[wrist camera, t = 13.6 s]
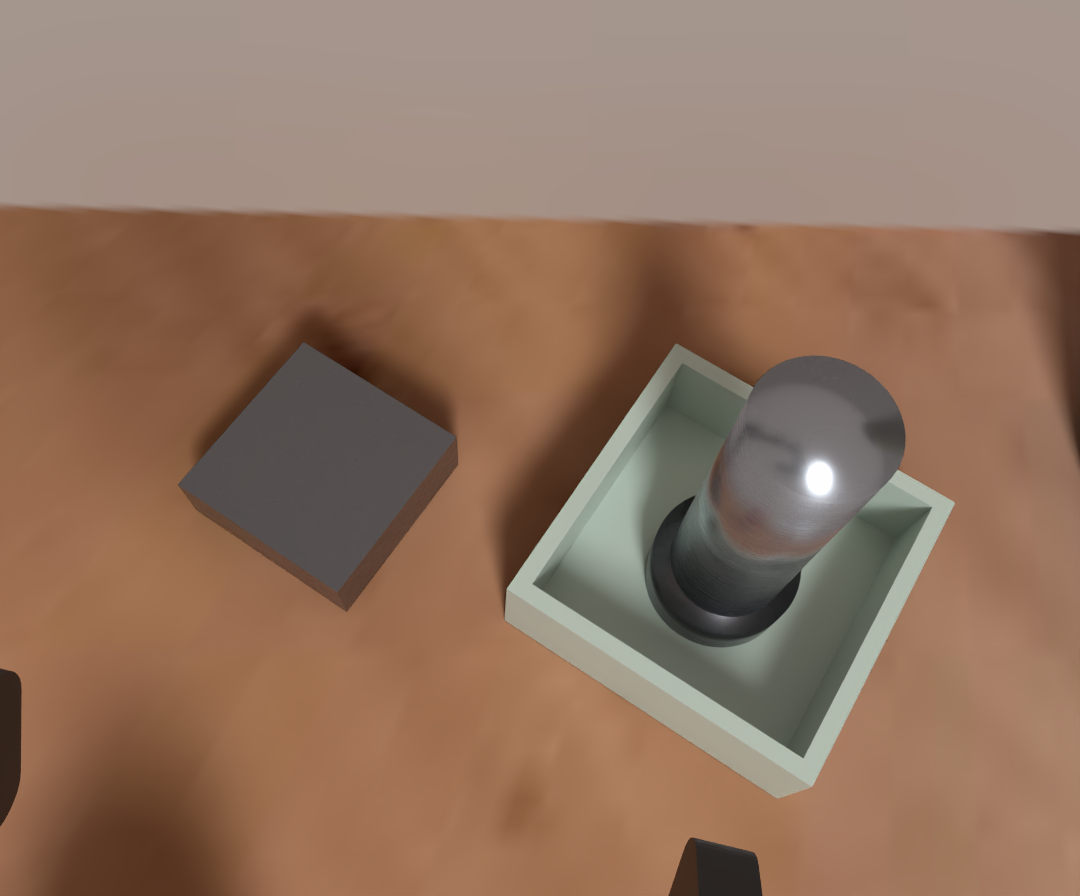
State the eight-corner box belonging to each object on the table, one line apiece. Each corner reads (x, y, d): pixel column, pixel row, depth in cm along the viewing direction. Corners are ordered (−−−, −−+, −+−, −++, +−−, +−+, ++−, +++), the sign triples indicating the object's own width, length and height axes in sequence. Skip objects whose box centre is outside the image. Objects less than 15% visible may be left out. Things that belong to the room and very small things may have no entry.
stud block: (196, 510, 37) (177, 484, 35) (313, 373, 40) (303, 342, 38) (346, 611, 36) (337, 592, 34) (458, 464, 39) (456, 437, 36)
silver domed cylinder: (632, 627, 36) (705, 497, 24) (658, 496, 38) (738, 315, 26) (775, 663, 35) (921, 547, 24) (793, 528, 38) (936, 360, 26)
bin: (504, 619, 36) (506, 589, 33) (658, 393, 40) (676, 343, 37) (777, 798, 34) (812, 786, 30) (910, 540, 38) (955, 502, 35)
